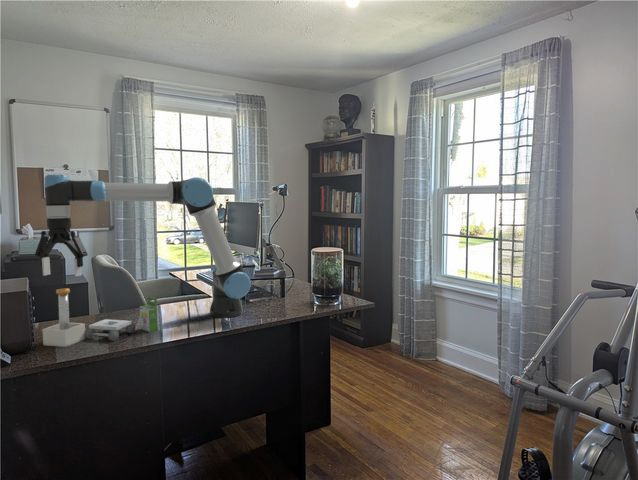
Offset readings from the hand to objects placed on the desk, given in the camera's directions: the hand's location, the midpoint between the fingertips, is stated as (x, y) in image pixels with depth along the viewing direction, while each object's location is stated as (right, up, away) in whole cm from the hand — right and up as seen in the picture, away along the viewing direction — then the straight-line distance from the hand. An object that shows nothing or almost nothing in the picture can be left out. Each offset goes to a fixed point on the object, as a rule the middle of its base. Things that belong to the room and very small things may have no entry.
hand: (62, 275), depth 161 cm
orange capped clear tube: (0, -24, +2) cm, 24 cm away
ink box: (+25, -24, +18) cm, 39 cm away
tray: (0, -25, +2) cm, 25 cm away
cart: (+13, -24, +10) cm, 29 cm away
